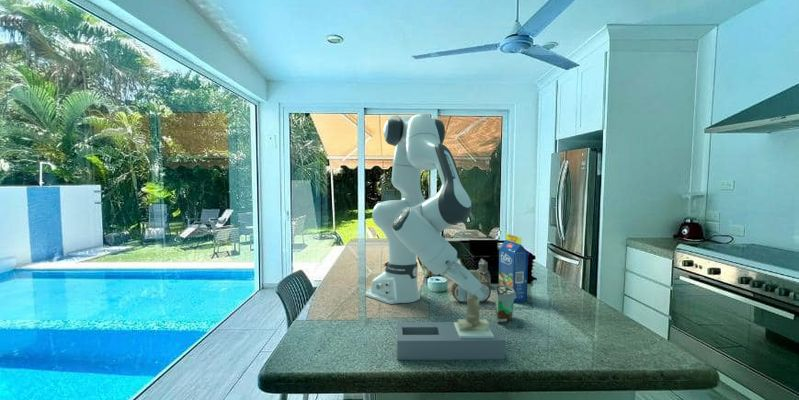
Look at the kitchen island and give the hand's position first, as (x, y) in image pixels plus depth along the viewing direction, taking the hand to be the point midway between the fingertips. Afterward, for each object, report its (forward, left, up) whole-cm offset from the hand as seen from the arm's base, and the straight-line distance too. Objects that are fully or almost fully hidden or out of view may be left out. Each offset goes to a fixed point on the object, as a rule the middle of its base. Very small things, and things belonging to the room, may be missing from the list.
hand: (474, 291), depth 96 cm
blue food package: (-2, +50, -16) cm, 53 cm away
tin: (-14, +36, -16) cm, 42 cm away
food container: (+2, +26, -16) cm, 31 cm away
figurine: (-17, +58, -16) cm, 63 cm away
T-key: (0, 0, -10) cm, 10 cm away
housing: (-6, -4, -16) cm, 18 cm away
